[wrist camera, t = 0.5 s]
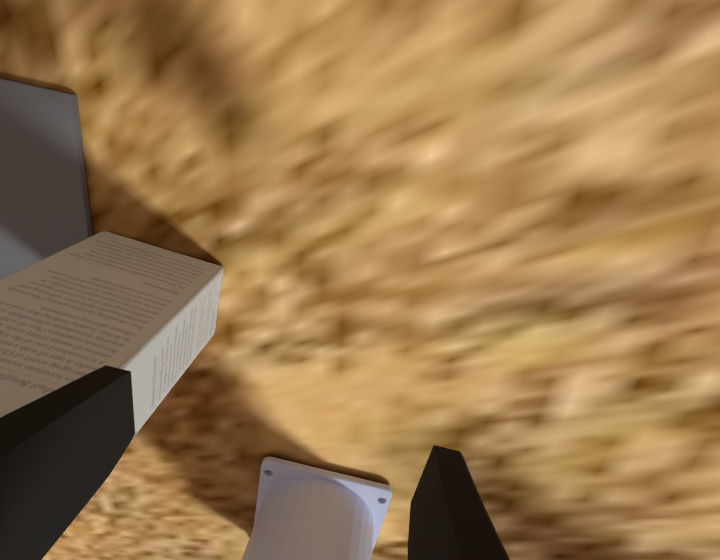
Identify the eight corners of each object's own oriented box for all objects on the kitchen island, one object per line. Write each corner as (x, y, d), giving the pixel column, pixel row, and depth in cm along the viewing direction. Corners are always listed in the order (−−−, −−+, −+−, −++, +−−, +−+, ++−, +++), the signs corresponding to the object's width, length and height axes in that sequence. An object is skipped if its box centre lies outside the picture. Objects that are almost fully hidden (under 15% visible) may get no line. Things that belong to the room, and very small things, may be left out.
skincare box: (106, 302, 21) (-227, 534, 10) (105, 227, 19) (-311, 414, 8) (219, 336, 21) (10, 604, 10) (229, 265, 19) (-16, 501, 8)
